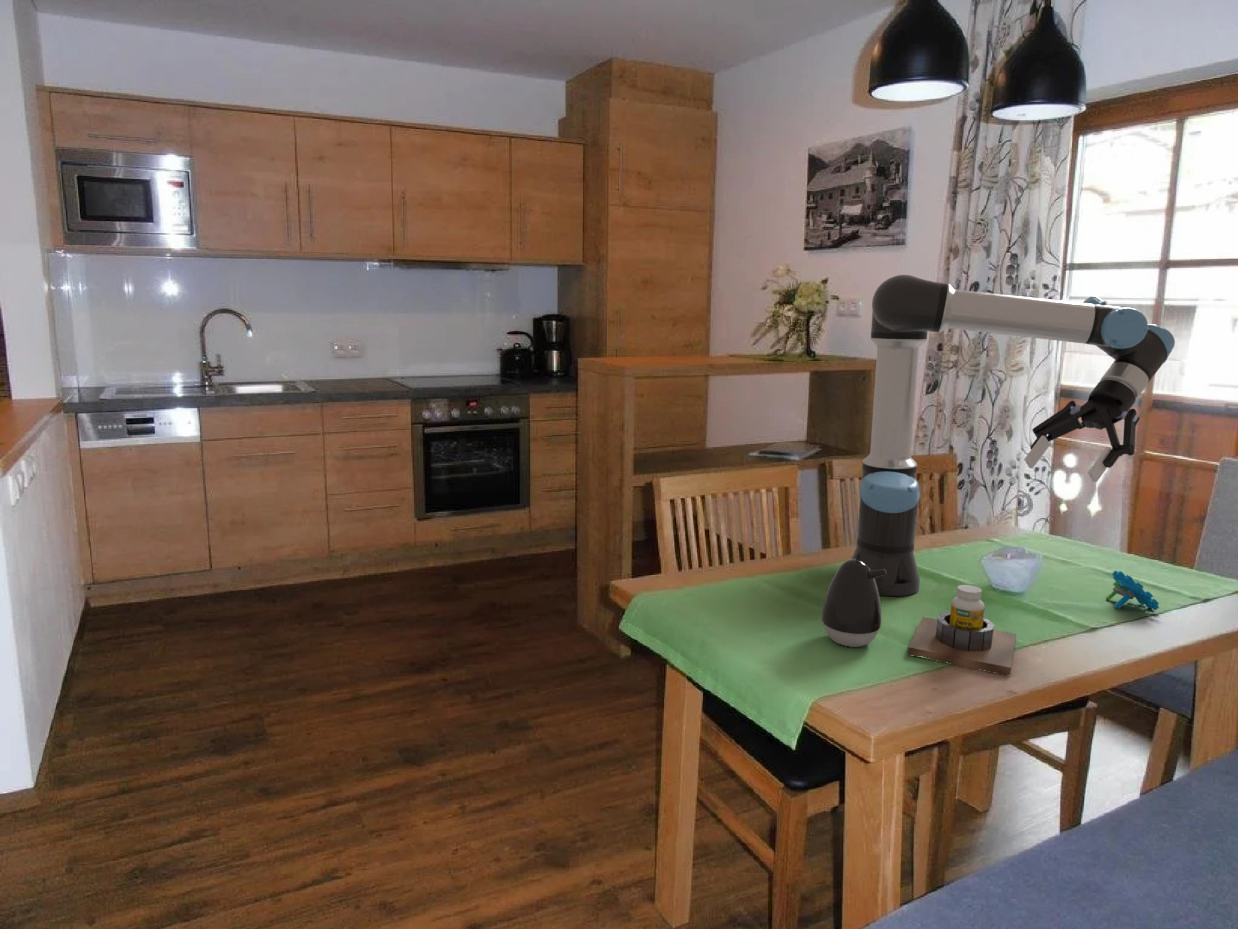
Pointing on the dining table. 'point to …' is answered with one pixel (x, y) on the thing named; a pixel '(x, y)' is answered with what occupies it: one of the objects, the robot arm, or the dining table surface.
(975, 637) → the collar
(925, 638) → the board
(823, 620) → the pump dispenser
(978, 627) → the supplement bottle
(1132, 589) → the gear
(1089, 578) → the dining table surface
